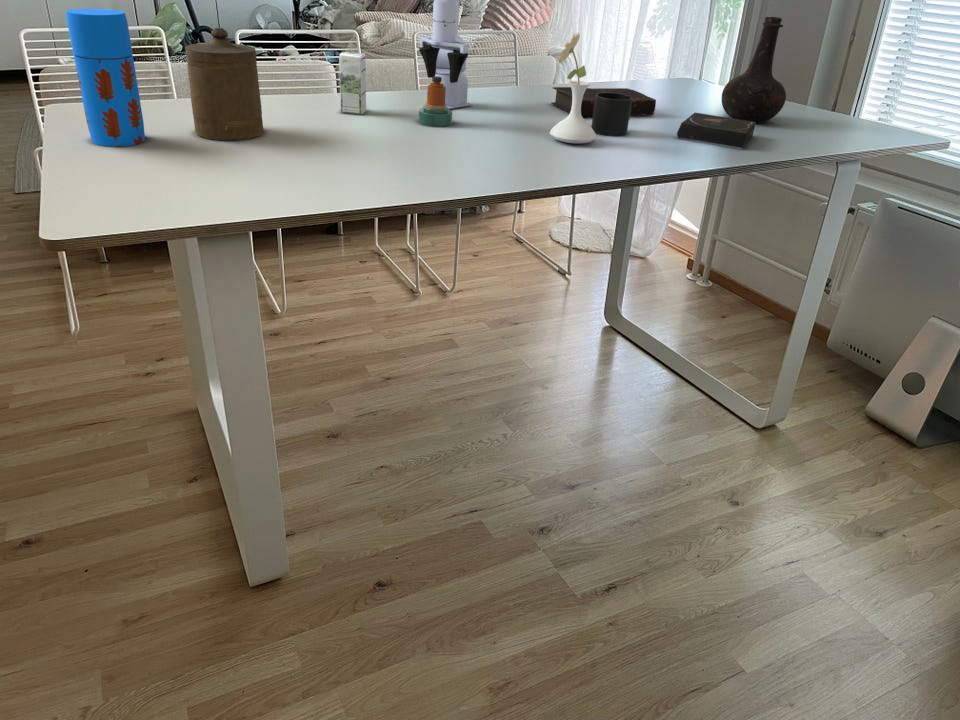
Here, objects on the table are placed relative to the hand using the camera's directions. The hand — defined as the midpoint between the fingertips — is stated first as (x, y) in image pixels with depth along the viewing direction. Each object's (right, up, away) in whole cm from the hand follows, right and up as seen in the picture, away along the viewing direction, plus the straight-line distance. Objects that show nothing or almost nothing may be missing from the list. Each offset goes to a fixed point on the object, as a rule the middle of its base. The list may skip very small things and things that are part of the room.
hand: (442, 79), depth 187 cm
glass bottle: (+89, 0, +33) cm, 95 cm away
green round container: (-2, -10, +4) cm, 11 cm away
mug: (+45, -11, +8) cm, 46 cm away
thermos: (-68, -24, -29) cm, 78 cm away
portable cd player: (+72, -12, +10) cm, 74 cm away
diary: (+45, +3, +31) cm, 55 cm away
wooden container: (-48, -19, -18) cm, 54 cm away
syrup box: (-24, -6, +8) cm, 26 cm away
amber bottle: (-2, -6, +1) cm, 6 cm away
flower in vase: (+32, -17, -4) cm, 36 cm away
